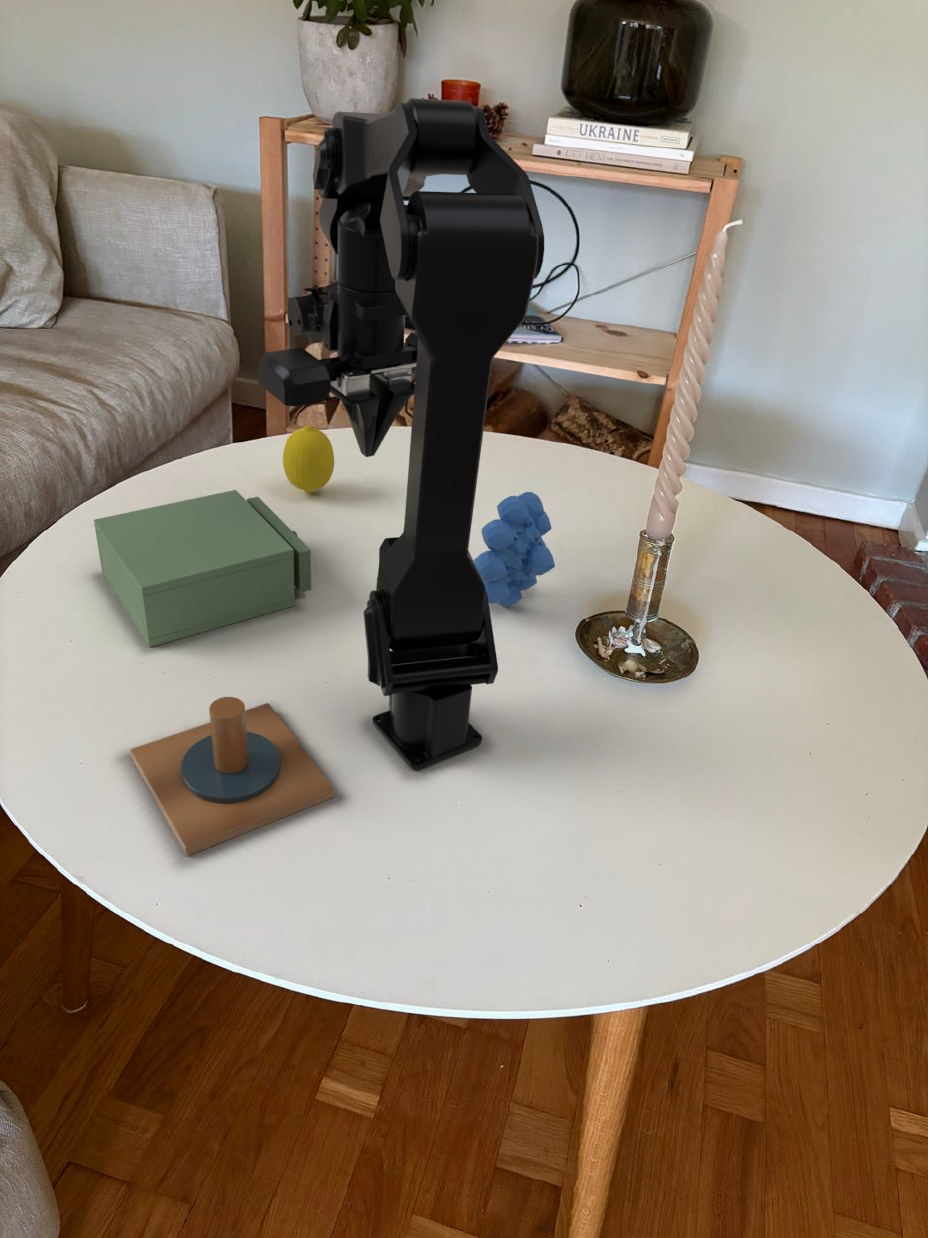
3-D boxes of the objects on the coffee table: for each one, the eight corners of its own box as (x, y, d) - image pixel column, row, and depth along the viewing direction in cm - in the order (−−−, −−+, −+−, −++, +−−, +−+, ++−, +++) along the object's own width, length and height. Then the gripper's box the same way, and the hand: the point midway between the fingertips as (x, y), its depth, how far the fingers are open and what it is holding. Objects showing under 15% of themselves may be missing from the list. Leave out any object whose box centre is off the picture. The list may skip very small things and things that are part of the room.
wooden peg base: (334, 797, 69) (334, 789, 69) (186, 857, 63) (185, 848, 63) (268, 710, 76) (268, 702, 76) (131, 757, 71) (129, 749, 70)
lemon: (279, 484, 108) (277, 417, 103) (327, 479, 109) (327, 413, 105) (289, 507, 103) (288, 438, 99) (339, 502, 105) (340, 434, 101)
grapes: (515, 649, 86) (532, 533, 79) (452, 622, 88) (462, 507, 81) (573, 593, 94) (593, 483, 87) (514, 570, 97) (528, 461, 90)
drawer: (270, 531, 97) (269, 493, 95) (323, 586, 90) (323, 546, 87) (136, 563, 90) (131, 523, 88) (181, 625, 83) (176, 584, 80)
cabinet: (239, 543, 96) (235, 489, 93) (295, 606, 88) (293, 549, 85) (102, 576, 90) (93, 519, 86) (149, 647, 81) (141, 587, 78)
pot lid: (297, 781, 69) (295, 720, 66) (204, 817, 65) (197, 755, 62) (256, 724, 73) (252, 665, 70) (166, 756, 70) (159, 694, 67)
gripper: (416, 249, 89) (407, 407, 98) (226, 265, 80) (236, 438, 89) (485, 282, 82) (469, 450, 91) (285, 305, 73) (289, 489, 82)
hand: (367, 454), depth 88 cm, fingers closed
